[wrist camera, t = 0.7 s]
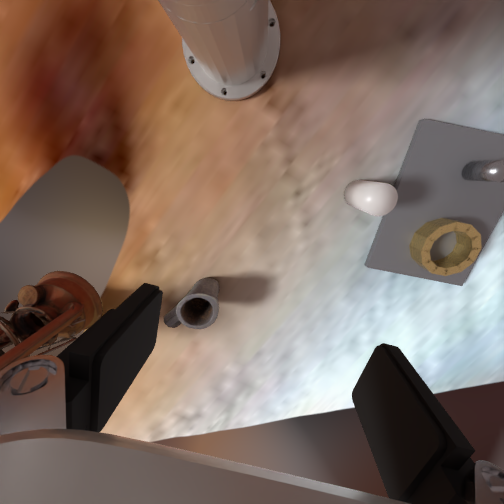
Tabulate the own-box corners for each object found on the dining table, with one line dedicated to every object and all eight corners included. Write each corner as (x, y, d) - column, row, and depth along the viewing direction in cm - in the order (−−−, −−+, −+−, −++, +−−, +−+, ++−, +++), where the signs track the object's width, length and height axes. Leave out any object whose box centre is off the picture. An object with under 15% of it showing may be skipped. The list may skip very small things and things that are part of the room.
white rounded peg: (348, 177, 36) (370, 180, 28) (374, 182, 36) (403, 186, 28) (340, 203, 37) (359, 212, 30) (365, 208, 37) (390, 219, 30)
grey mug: (164, 303, 45) (144, 330, 38) (212, 263, 42) (200, 284, 34) (187, 324, 47) (172, 354, 39) (235, 287, 43) (228, 312, 36)
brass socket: (422, 213, 36) (436, 217, 33) (474, 224, 36) (492, 228, 33) (401, 262, 39) (412, 269, 36) (450, 271, 39) (464, 279, 36)
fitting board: (419, 120, 33) (424, 118, 32) (531, 143, 33) (541, 142, 32) (364, 264, 40) (367, 267, 39) (456, 282, 40) (462, 286, 39)
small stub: (467, 159, 33) (500, 157, 28) (485, 162, 33) (521, 162, 28) (458, 178, 34) (489, 180, 29) (476, 182, 34) (509, 184, 29)
